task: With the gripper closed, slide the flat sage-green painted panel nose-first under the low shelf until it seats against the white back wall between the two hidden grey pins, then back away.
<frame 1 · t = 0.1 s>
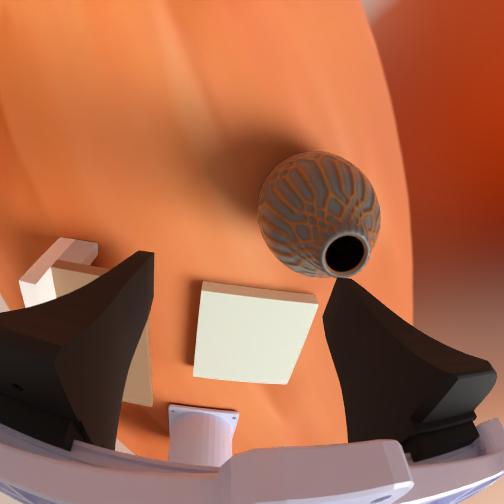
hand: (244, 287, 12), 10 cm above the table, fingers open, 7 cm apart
vase: (304, 192, 21), on the table
panel: (249, 331, 27), on the table
shelf unit: (114, 315, 25), on the table
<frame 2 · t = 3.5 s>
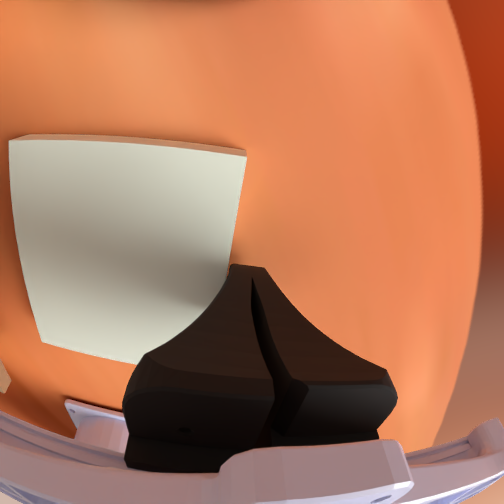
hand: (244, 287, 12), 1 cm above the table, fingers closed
panel: (122, 252, 13), on the table, touching gripper
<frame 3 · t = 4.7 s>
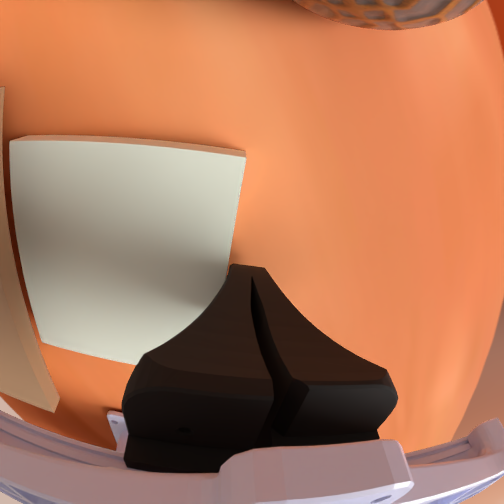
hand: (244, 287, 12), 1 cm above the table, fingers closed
panel: (122, 252, 13), on the table
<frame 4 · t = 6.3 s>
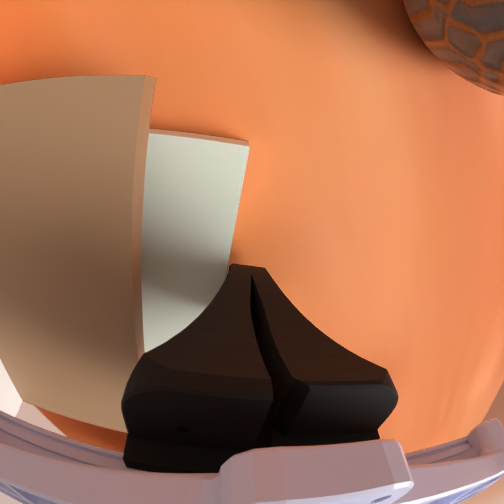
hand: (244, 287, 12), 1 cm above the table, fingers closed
vase: (444, 16, 8), on the table
panel: (123, 243, 13), on the table
shelf unit: (75, 249, 12), on the table
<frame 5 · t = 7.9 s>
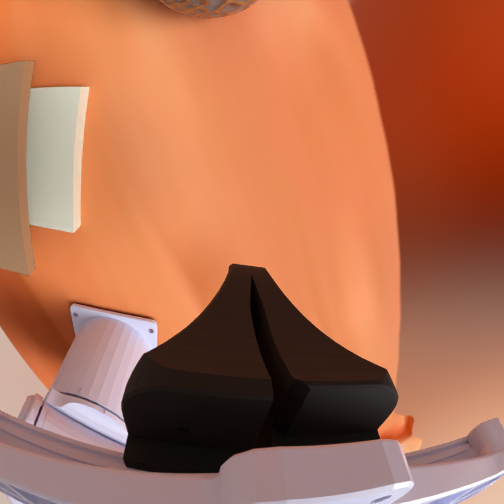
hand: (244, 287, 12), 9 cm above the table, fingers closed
panel: (36, 153, 18), on the table
shelf unit: (12, 158, 17), on the table
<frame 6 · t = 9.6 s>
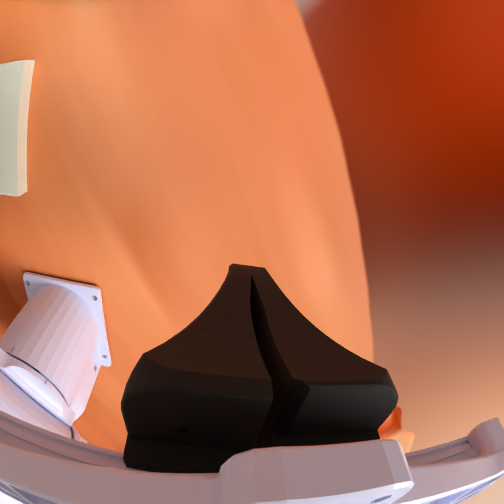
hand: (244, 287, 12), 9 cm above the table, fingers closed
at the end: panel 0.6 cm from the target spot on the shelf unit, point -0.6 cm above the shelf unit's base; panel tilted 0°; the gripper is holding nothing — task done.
